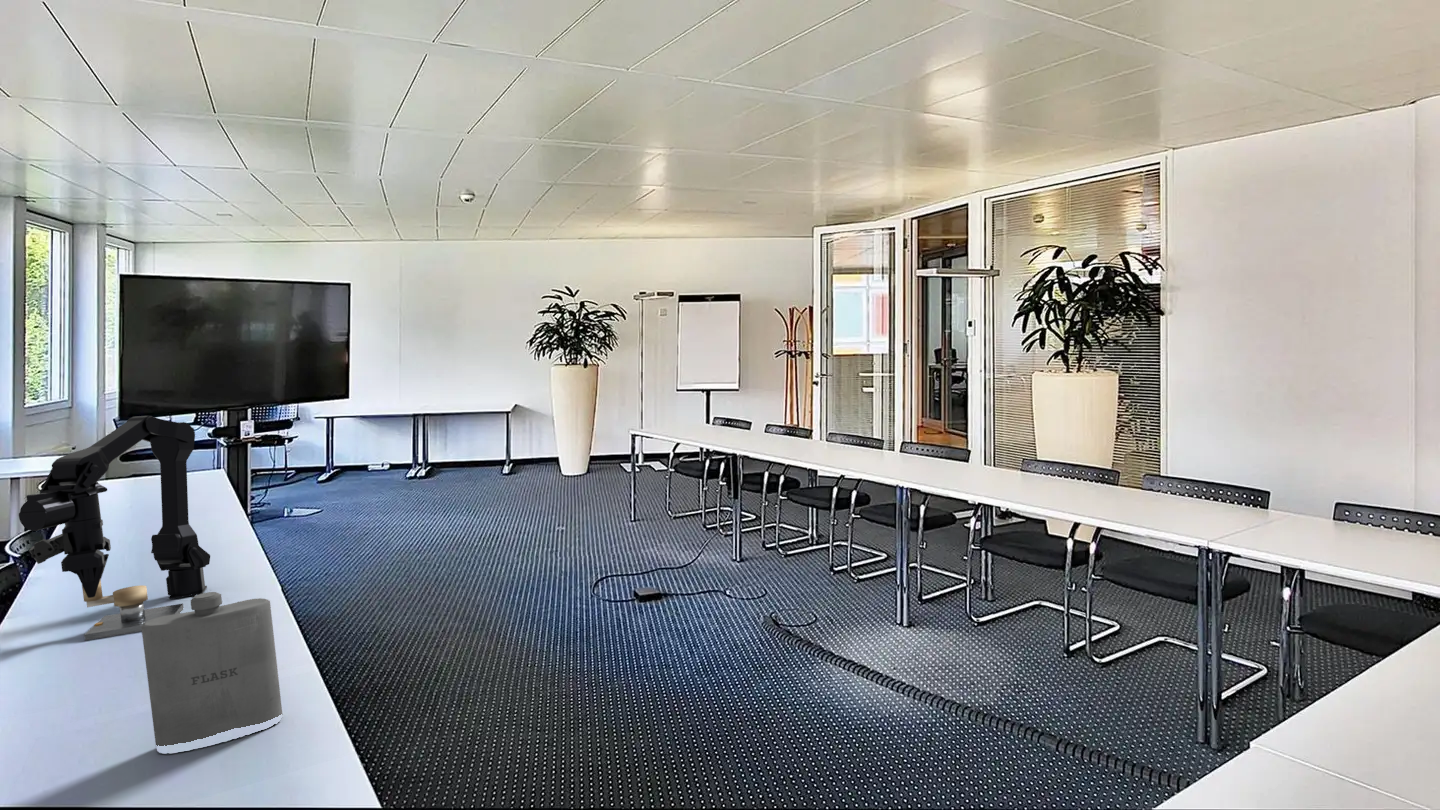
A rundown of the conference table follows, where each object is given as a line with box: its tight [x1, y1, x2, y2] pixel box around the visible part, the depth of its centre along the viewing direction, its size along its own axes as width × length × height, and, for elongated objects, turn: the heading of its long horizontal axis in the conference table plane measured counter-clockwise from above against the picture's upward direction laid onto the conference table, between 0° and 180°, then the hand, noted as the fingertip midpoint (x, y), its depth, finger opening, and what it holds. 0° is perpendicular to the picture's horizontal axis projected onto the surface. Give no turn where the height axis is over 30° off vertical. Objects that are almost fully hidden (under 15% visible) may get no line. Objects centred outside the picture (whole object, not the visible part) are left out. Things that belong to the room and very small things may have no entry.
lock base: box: [83, 602, 185, 642], centre depth 166 cm, size 14×13×4 cm
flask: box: [141, 591, 283, 746], centre depth 111 cm, size 15×6×20 cm, turn 122°
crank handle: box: [81, 578, 149, 608], centre depth 164 cm, size 10×6×7 cm, turn 121°
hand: (92, 595), depth 162 cm, fingers closed on crank handle, 3 cm apart
